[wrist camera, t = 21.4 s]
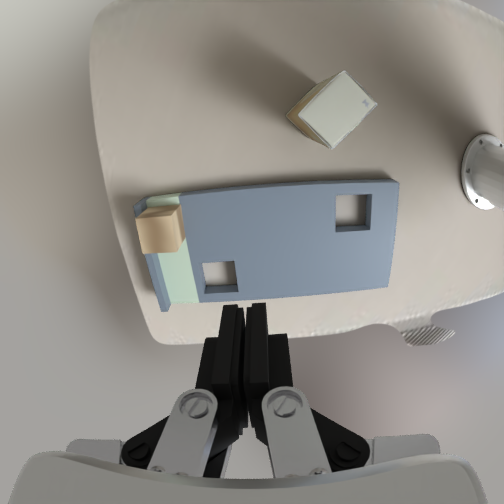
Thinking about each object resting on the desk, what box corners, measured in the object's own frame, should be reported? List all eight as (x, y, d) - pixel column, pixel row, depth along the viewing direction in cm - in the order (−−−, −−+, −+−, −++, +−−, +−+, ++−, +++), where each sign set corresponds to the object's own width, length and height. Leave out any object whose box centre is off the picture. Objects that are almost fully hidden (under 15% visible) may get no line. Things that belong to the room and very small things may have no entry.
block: (180, 204, 35) (170, 215, 31) (185, 237, 37) (177, 252, 33) (148, 207, 35) (135, 218, 31) (154, 239, 37) (142, 253, 33)
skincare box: (317, 83, 30) (346, 65, 19) (342, 107, 31) (381, 102, 20) (282, 117, 32) (295, 114, 21) (308, 141, 33) (332, 150, 22)
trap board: (392, 179, 35) (406, 186, 31) (383, 280, 42) (392, 294, 38) (144, 197, 37) (133, 206, 33) (168, 296, 44) (161, 311, 40)
